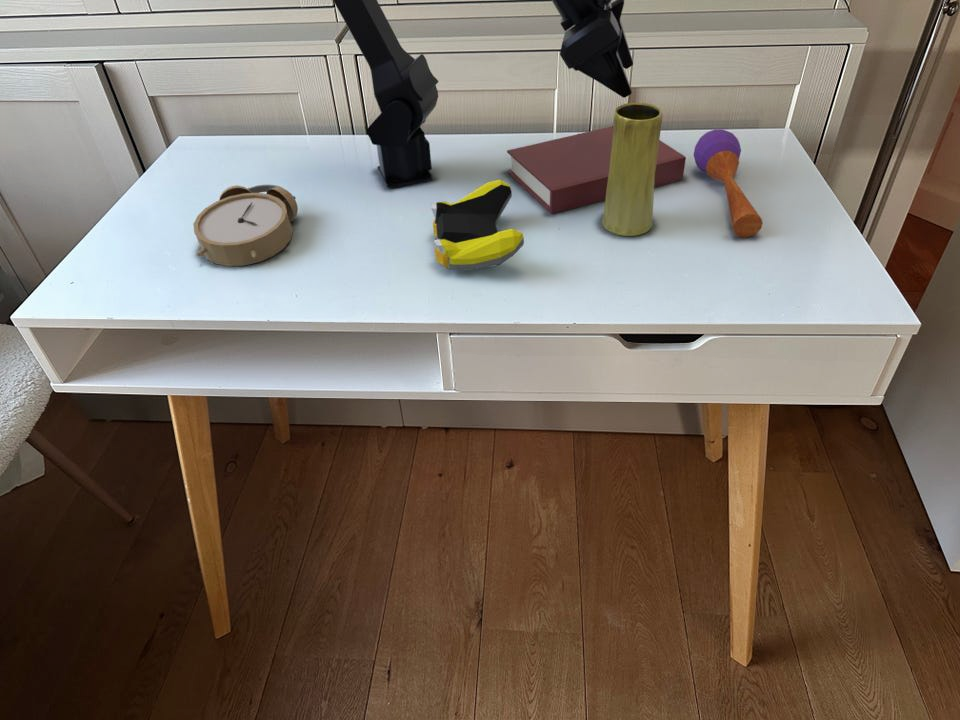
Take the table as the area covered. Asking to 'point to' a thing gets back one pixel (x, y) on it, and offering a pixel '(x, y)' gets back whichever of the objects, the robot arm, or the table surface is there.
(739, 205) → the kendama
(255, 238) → the alarm clock
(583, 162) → the book
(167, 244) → the table surface
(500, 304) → the table surface
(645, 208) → the vase
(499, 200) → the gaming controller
